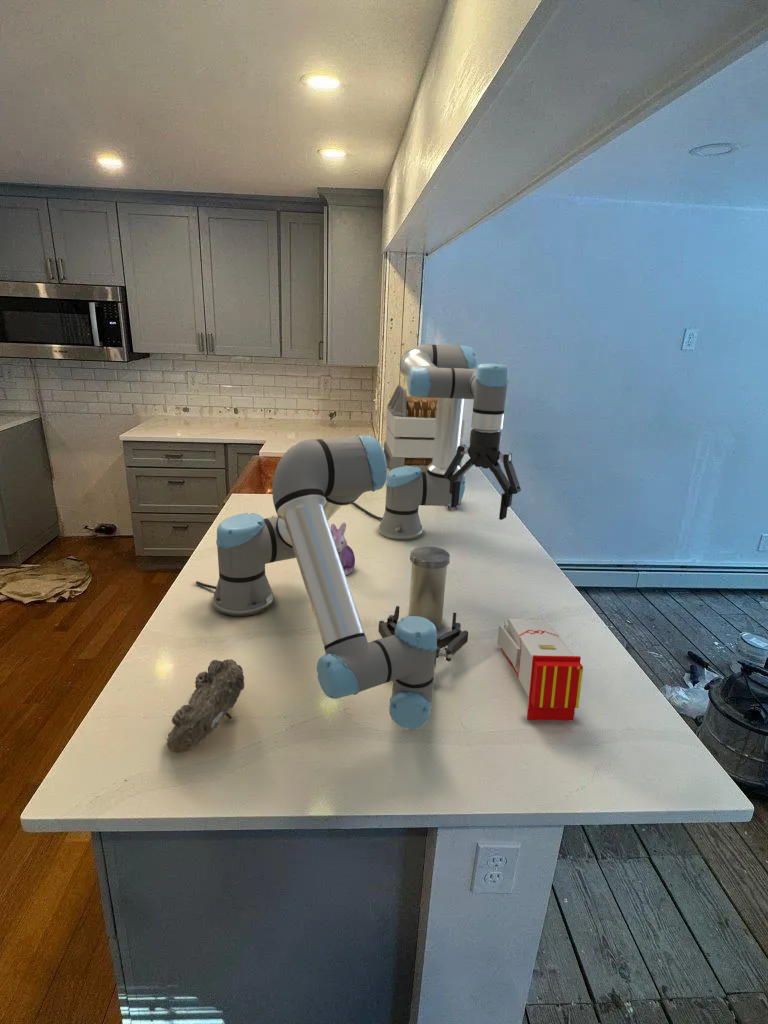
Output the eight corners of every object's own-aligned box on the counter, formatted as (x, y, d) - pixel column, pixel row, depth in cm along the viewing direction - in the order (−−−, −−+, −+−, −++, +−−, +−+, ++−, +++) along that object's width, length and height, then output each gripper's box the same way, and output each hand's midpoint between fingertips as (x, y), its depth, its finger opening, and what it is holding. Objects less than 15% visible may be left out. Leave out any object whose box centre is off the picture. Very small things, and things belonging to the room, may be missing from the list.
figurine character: (461, 514, 225) (456, 498, 239) (463, 497, 222) (458, 482, 235) (444, 513, 225) (440, 498, 239) (446, 496, 222) (442, 481, 235)
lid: (428, 549, 144) (428, 543, 144) (457, 562, 138) (458, 555, 137) (401, 559, 138) (402, 552, 137) (431, 572, 132) (431, 565, 131)
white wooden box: (382, 463, 289) (386, 382, 275) (445, 464, 293) (451, 384, 279) (390, 482, 257) (394, 392, 243) (460, 483, 261) (468, 394, 247)
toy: (543, 604, 136) (592, 662, 106) (538, 656, 138) (584, 727, 109) (493, 603, 135) (528, 661, 106) (489, 655, 138) (522, 726, 109)
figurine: (332, 580, 163) (333, 532, 158) (319, 566, 172) (319, 520, 167) (362, 575, 168) (363, 527, 162) (348, 561, 176) (349, 516, 171)
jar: (423, 611, 150) (428, 545, 143) (448, 624, 144) (455, 556, 137) (401, 621, 144) (405, 554, 138) (425, 635, 138) (431, 566, 132)
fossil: (192, 660, 117) (244, 628, 112) (224, 691, 120) (276, 661, 115) (142, 746, 98) (202, 712, 93) (182, 779, 101) (242, 748, 96)
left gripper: (356, 673, 119) (373, 621, 138) (476, 689, 115) (476, 634, 135) (357, 642, 116) (375, 594, 136) (480, 658, 113) (480, 606, 133)
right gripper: (541, 435, 134) (530, 519, 141) (449, 420, 147) (443, 498, 154) (529, 440, 128) (518, 527, 135) (434, 424, 141) (428, 505, 148)
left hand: (425, 614), depth 135 cm, fingers open, 13 cm apart
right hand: (478, 512), depth 145 cm, fingers open, 13 cm apart
